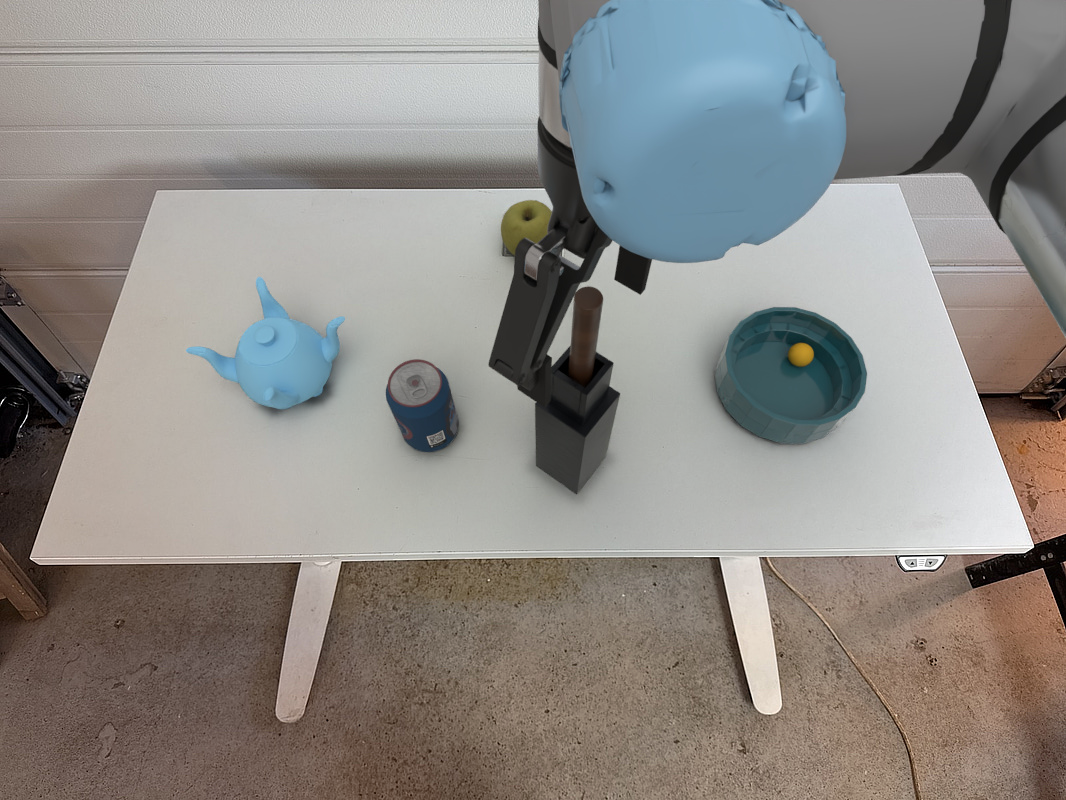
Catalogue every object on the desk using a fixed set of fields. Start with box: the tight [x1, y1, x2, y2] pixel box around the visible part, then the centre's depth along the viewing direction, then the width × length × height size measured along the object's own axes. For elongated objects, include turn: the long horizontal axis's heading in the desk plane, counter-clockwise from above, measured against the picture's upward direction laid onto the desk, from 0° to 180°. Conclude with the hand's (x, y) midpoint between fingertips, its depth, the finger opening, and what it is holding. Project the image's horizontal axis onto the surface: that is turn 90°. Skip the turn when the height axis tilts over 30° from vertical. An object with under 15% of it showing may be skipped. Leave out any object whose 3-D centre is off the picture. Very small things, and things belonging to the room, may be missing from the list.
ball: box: [788, 343, 814, 367], centre depth 80 cm, size 3×3×3 cm
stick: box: [568, 285, 604, 387], centre depth 54 cm, size 2×2×16 cm
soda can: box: [385, 358, 460, 453], centre depth 72 cm, size 7×7×12 cm
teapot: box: [185, 276, 346, 410], centre depth 77 cm, size 13×13×10 cm
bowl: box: [714, 306, 868, 445], centre depth 77 cm, size 16×16×6 cm
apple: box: [500, 199, 552, 257], centre depth 88 cm, size 8×8×7 cm
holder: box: [534, 345, 621, 495], centre depth 66 cm, size 6×6×22 cm
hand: (584, 337), depth 52 cm, fingers open, 13 cm apart
